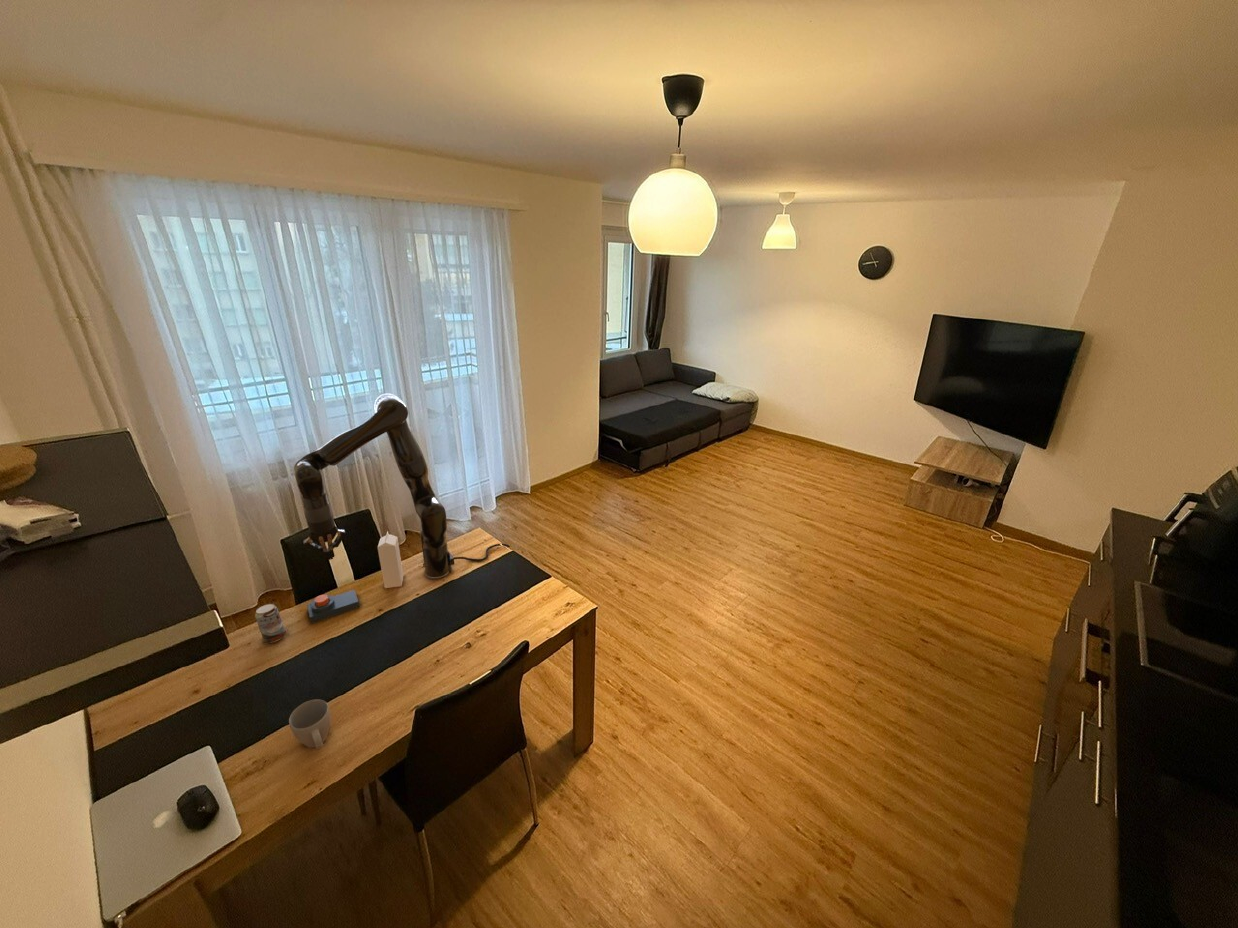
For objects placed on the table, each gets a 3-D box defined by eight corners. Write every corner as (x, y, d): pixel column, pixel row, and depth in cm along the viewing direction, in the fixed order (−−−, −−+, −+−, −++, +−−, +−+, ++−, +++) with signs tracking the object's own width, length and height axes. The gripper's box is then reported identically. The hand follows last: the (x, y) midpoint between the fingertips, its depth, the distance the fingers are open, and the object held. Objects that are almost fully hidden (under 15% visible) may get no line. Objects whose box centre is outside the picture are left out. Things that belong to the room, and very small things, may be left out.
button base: (355, 595, 178) (353, 585, 176) (359, 607, 173) (357, 597, 171) (308, 610, 170) (305, 600, 168) (311, 623, 164) (308, 613, 162)
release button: (327, 597, 170) (326, 593, 170) (329, 604, 168) (328, 599, 167) (314, 601, 168) (313, 597, 167) (316, 608, 165) (315, 603, 164)
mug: (293, 735, 128) (285, 711, 124) (330, 716, 134) (323, 692, 130) (303, 770, 121) (295, 745, 117) (342, 748, 126) (335, 724, 122)
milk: (384, 588, 183) (375, 540, 173) (387, 578, 188) (378, 531, 178) (401, 586, 184) (393, 538, 175) (404, 576, 189) (396, 529, 180)
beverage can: (269, 648, 154) (260, 619, 149) (258, 638, 157) (248, 609, 152) (290, 636, 159) (282, 608, 154) (279, 626, 162) (270, 599, 157)
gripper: (297, 527, 152) (310, 570, 160) (343, 515, 160) (353, 557, 167) (294, 516, 158) (306, 559, 165) (339, 505, 165) (349, 546, 173)
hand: (330, 558), depth 166 cm, fingers closed
